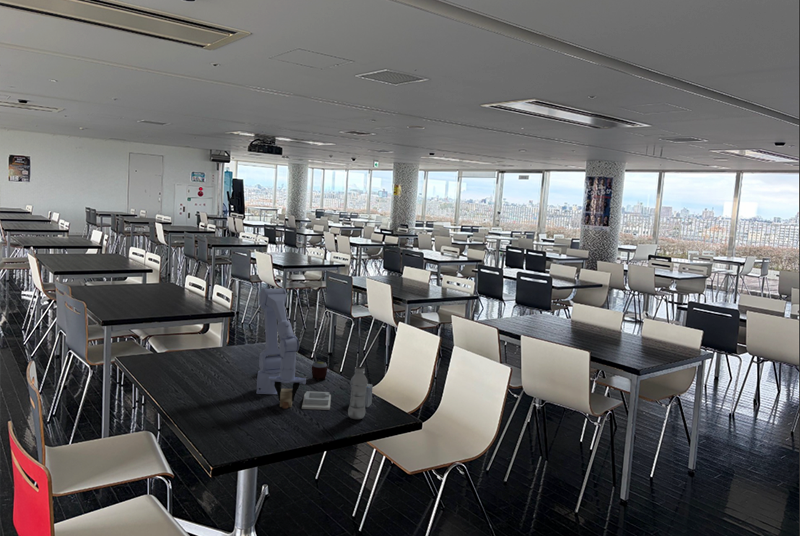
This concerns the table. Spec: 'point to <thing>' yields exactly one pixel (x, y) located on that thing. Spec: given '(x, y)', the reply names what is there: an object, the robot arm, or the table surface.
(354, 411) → the plastic bottle
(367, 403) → the medicine box
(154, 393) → the table surface
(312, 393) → the keyed cradle
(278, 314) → the robot arm
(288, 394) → the keyed peg
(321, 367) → the mate gourd
